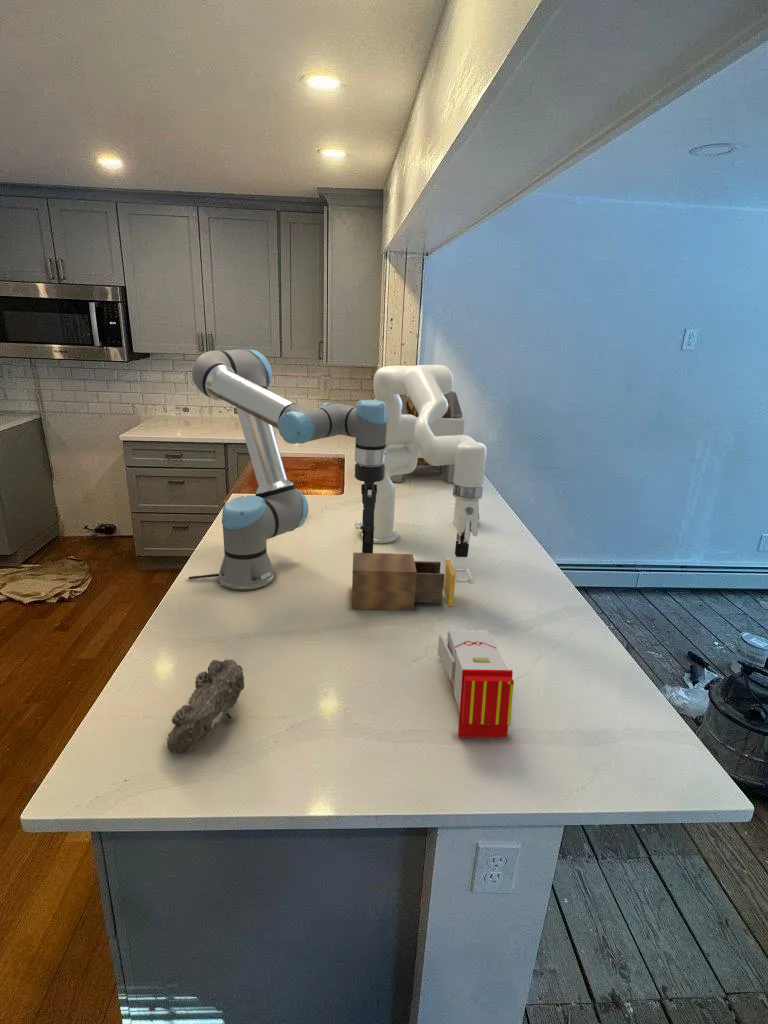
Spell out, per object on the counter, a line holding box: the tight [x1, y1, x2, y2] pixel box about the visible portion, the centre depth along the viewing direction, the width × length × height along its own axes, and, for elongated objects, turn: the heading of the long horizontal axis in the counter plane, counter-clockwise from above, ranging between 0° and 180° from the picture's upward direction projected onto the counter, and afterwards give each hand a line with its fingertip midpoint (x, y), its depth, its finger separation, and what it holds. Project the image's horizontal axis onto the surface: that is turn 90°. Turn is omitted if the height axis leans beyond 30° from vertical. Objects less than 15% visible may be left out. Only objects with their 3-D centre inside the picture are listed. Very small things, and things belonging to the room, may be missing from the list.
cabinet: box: [351, 552, 417, 611], centre depth 153 cm, size 16×11×11 cm
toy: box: [437, 628, 515, 738], centre depth 117 cm, size 12×13×30 cm
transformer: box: [386, 390, 465, 484], centre depth 268 cm, size 34×33×41 cm
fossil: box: [166, 658, 245, 754], centre depth 106 cm, size 22×10×15 cm
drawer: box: [414, 558, 475, 607], centre depth 153 cm, size 20×10×9 cm, turn 92°
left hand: (367, 542), depth 149 cm, fingers open, 13 cm apart
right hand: (461, 555), depth 151 cm, fingers closed
